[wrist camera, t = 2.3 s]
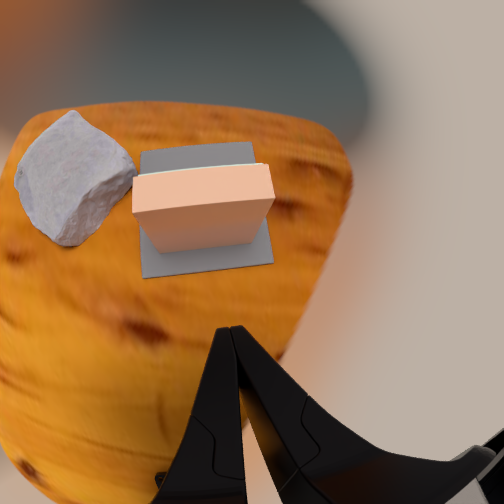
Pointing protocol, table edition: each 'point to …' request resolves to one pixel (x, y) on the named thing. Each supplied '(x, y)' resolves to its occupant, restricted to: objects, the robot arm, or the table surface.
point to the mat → (207, 257)
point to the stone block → (72, 179)
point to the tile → (202, 205)
